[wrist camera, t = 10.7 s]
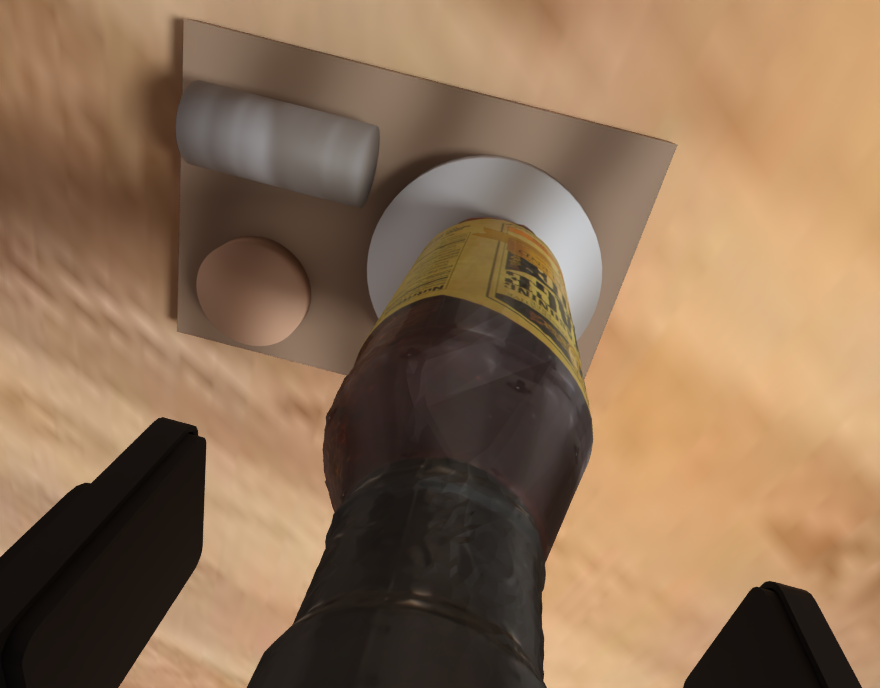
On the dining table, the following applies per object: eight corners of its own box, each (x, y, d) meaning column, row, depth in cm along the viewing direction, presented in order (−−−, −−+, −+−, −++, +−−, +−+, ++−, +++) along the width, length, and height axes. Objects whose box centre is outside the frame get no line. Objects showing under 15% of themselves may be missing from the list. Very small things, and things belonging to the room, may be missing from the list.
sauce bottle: (576, 329, 25) (723, 997, 7) (440, 359, 26) (278, 975, 9) (541, 180, 22) (634, 640, 4) (392, 224, 24) (22, 699, 6)
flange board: (669, 141, 23) (701, 155, 19) (561, 418, 30) (569, 471, 26) (198, 20, 23) (135, 10, 20) (189, 322, 30) (139, 360, 26)
